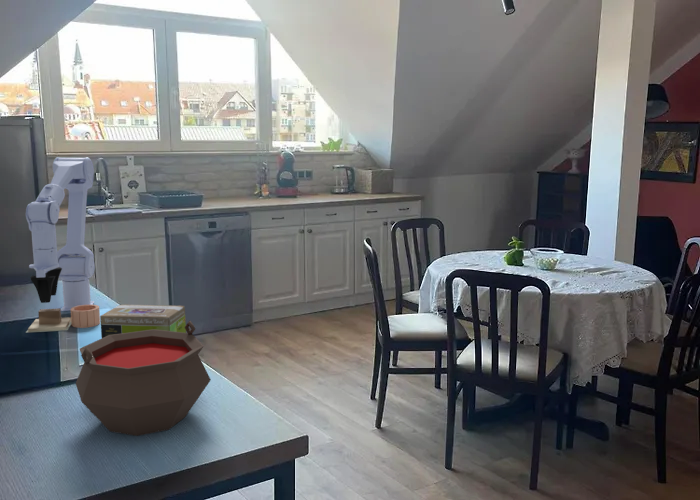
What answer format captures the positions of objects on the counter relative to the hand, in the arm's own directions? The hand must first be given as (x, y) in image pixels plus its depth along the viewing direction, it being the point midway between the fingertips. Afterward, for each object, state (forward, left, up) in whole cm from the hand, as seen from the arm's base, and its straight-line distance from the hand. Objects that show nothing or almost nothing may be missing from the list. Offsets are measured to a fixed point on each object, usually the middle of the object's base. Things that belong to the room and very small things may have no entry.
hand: (48, 298), depth 174 cm
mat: (0, 0, -8) cm, 8 cm away
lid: (0, 0, -7) cm, 7 cm away
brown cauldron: (+63, +28, -8) cm, 69 cm away
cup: (0, +9, -8) cm, 12 cm away
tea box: (+41, +27, -8) cm, 50 cm away
